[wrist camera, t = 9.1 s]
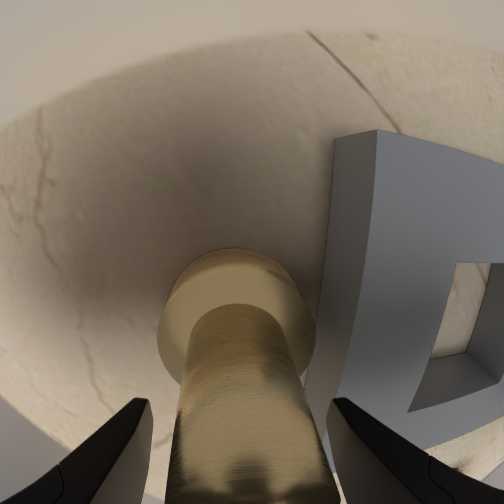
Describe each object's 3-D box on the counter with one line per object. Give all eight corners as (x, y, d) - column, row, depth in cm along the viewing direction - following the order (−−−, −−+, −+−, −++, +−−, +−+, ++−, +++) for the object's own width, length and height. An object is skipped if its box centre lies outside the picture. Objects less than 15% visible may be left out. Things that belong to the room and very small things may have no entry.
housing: (534, 188, 14) (575, 197, 10) (479, 387, 18) (505, 414, 14) (334, 138, 12) (377, 129, 8) (296, 426, 16) (310, 476, 13)
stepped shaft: (305, 249, 13) (442, 406, 4) (291, 363, 15) (350, 538, 5) (167, 245, 13) (59, 416, 3) (173, 361, 14) (139, 545, 5)
